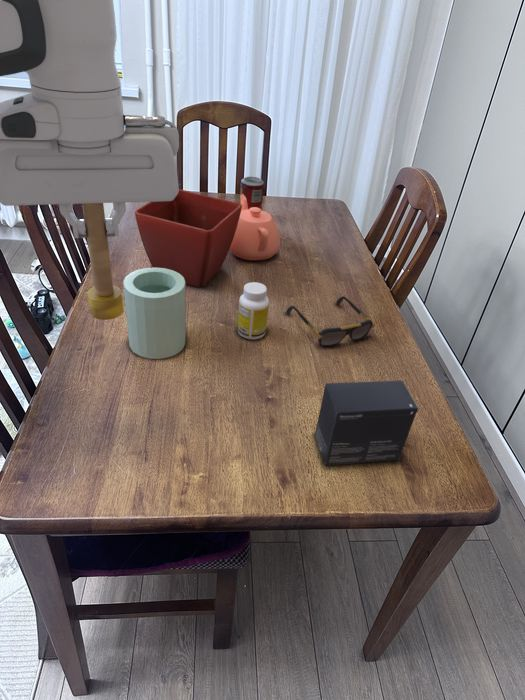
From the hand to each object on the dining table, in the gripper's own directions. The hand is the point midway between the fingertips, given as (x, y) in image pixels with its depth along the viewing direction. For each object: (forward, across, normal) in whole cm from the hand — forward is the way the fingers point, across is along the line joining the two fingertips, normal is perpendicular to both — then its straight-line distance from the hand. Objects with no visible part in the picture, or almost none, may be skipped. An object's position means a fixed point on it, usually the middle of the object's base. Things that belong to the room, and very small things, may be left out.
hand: (96, 235), depth 60 cm
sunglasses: (+34, -46, -21) cm, 61 cm away
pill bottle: (+34, -29, -22) cm, 49 cm away
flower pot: (+34, -20, -50) cm, 63 cm away
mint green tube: (+34, -9, -22) cm, 41 cm away
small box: (+34, -37, +13) cm, 52 cm away
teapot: (+34, -39, -60) cm, 79 cm away
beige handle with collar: (+11, 0, 0) cm, 11 cm away
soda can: (+34, -45, -82) cm, 99 cm away
